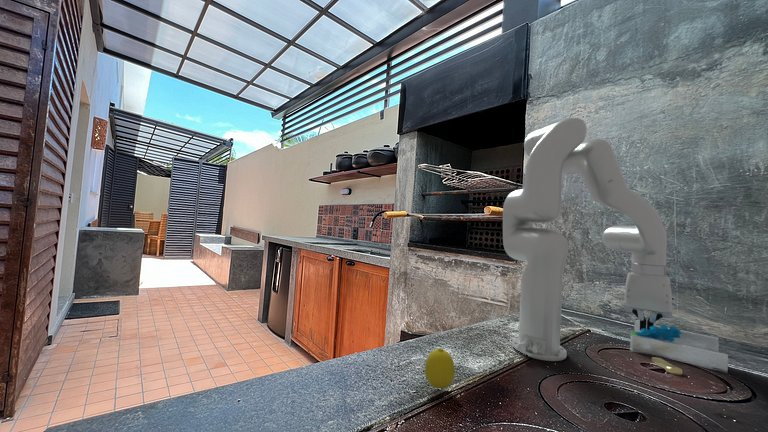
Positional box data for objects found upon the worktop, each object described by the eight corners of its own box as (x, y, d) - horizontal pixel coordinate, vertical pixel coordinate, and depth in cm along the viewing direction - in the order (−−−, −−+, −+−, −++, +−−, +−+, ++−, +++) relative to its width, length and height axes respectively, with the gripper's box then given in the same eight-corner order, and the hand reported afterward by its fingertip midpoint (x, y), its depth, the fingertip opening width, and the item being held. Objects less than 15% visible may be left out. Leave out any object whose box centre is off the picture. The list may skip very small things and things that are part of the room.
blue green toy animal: (670, 339, 86) (685, 323, 80) (681, 361, 82) (699, 345, 76) (624, 338, 89) (635, 322, 82) (633, 359, 85) (646, 344, 78)
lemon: (433, 379, 62) (435, 340, 63) (458, 390, 59) (460, 348, 59) (418, 390, 58) (420, 348, 58) (444, 402, 55) (446, 357, 55)
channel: (728, 375, 70) (729, 358, 70) (629, 350, 82) (630, 335, 82) (717, 350, 85) (717, 336, 85) (634, 332, 96) (634, 319, 96)
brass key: (685, 375, 69) (685, 371, 69) (672, 374, 69) (672, 370, 69) (661, 361, 76) (662, 357, 76) (649, 360, 76) (649, 356, 76)
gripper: (683, 272, 85) (682, 338, 85) (616, 265, 95) (615, 324, 95) (685, 275, 80) (683, 346, 80) (614, 268, 90) (612, 330, 90)
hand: (646, 334), depth 87 cm, fingers closed
